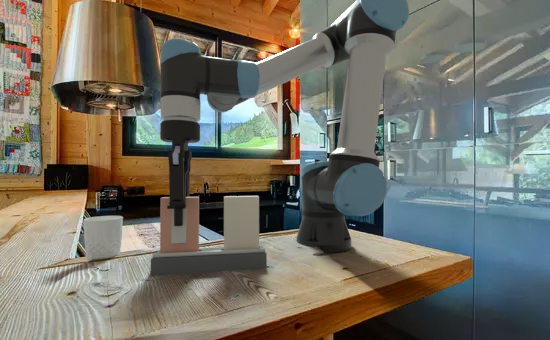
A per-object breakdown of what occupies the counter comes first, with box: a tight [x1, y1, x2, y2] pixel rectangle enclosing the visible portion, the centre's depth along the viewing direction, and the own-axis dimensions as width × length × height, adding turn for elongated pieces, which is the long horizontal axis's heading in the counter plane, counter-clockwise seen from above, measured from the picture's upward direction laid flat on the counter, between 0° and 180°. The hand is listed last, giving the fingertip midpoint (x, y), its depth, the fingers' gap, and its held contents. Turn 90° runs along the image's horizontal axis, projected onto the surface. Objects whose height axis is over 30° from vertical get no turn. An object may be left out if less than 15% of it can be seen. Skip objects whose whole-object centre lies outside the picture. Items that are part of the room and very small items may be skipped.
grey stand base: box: [150, 245, 268, 277], centre depth 58 cm, size 22×6×5 cm, turn 100°
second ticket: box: [223, 195, 260, 250], centre depth 60 cm, size 7×2×14 cm, turn 100°
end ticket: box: [159, 196, 200, 253], centre depth 58 cm, size 7×2×14 cm, turn 100°
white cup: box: [83, 215, 124, 264], centre depth 68 cm, size 8×8×10 cm
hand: (180, 240), depth 57 cm, fingers closed on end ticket, 2 cm apart
